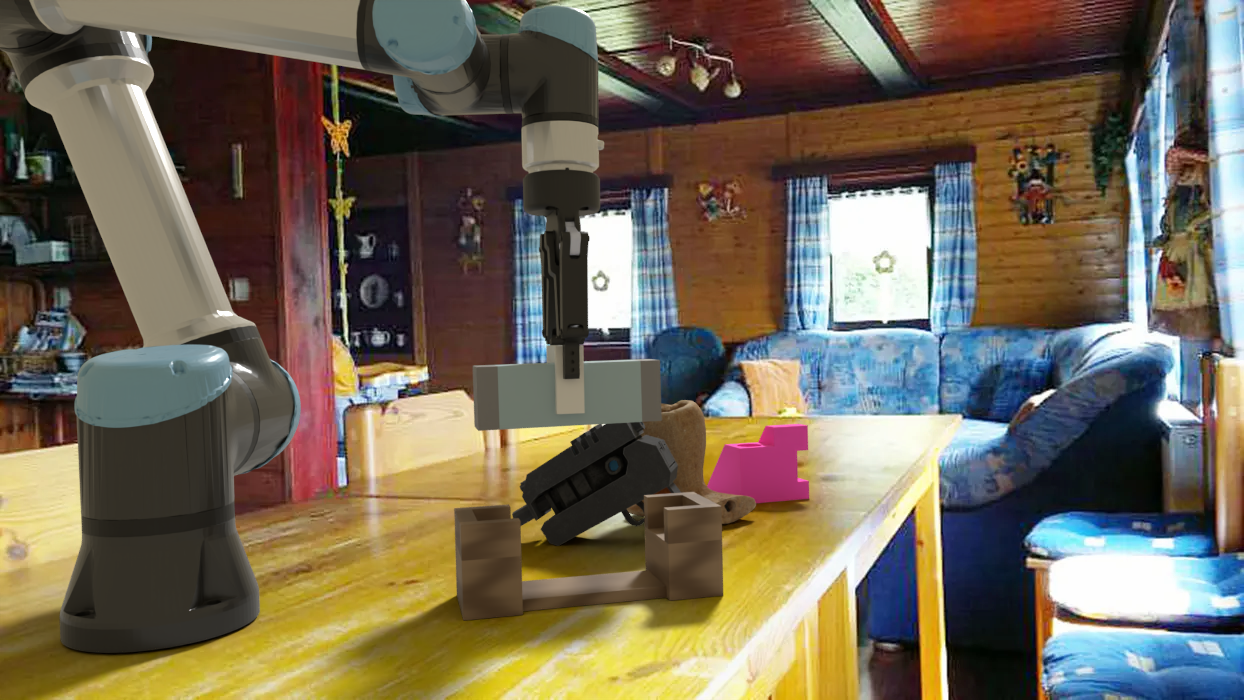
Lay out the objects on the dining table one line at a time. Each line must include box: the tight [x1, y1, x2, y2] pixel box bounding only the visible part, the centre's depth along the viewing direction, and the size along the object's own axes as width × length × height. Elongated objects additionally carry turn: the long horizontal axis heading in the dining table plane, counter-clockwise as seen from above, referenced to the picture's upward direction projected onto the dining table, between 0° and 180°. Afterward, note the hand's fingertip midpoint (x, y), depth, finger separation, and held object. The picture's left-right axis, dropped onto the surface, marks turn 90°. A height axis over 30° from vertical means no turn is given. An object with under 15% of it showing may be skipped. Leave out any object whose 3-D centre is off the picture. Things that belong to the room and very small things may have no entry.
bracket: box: [706, 423, 810, 504], centre depth 135 cm, size 12×10×10 cm
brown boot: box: [627, 399, 757, 525], centre depth 118 cm, size 15×12×15 cm
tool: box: [511, 422, 681, 546], centre depth 107 cm, size 6×19×15 cm, turn 79°
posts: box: [453, 492, 724, 621], centre depth 85 cm, size 23×8×8 cm, turn 104°
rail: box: [472, 358, 662, 432], centre depth 93 cm, size 18×4×6 cm, turn 104°
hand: (565, 410), depth 93 cm, fingers closed on rail, 4 cm apart
